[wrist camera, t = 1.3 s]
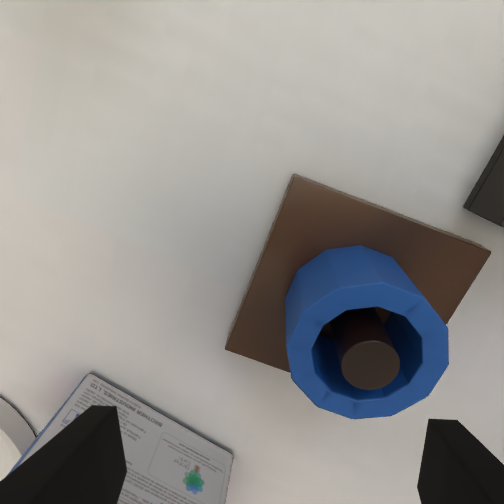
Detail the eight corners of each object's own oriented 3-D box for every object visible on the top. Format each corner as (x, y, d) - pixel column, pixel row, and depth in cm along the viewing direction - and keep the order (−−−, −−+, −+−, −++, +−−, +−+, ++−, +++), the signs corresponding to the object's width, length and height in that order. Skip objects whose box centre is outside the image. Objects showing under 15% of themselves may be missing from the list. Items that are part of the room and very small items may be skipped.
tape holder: (480, 244, 17) (570, 301, 12) (388, 396, 20) (425, 495, 15) (293, 173, 17) (298, 198, 11) (227, 338, 20) (207, 419, 14)
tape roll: (435, 272, 17) (480, 318, 13) (377, 372, 18) (401, 437, 15) (315, 227, 16) (325, 260, 12) (269, 333, 18) (265, 389, 14)
